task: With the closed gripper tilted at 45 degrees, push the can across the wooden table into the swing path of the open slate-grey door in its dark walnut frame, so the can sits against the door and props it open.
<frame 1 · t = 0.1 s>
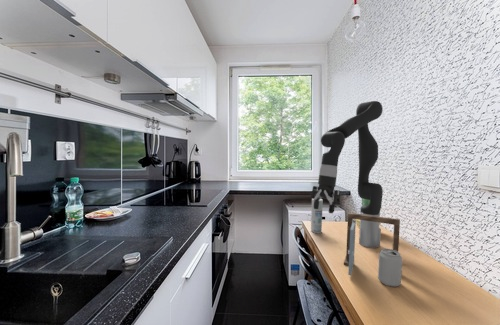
hand: (323, 210, 105), 22 cm above the table, tool pointing down, fingers open, 8 cm apart
door frame: (352, 262, 104), on the table
can: (389, 282, 89), on the table
door: (352, 246, 97), point 10 cm above the table, hinge at 90.0°
spray can: (316, 231, 144), on the table
potted cactus: (366, 232, 145), on the table
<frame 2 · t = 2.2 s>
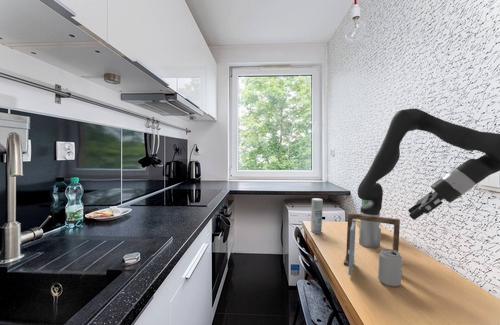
hand: (410, 215, 84), 27 cm above the table, tool tilted 45°, fingers open, 8 cm apart
nothing on the table moved.
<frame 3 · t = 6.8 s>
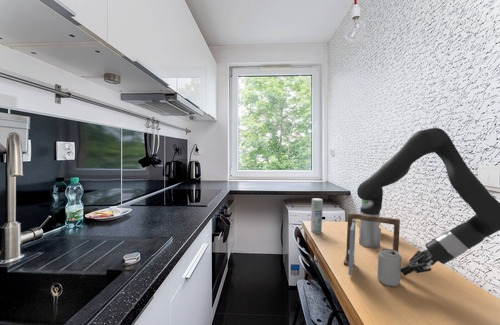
hand: (402, 272, 86), 5 cm above the table, tool tilted 45°, fingers closed
can: (388, 282, 89), on the table, touching gripper
everything else where it was.
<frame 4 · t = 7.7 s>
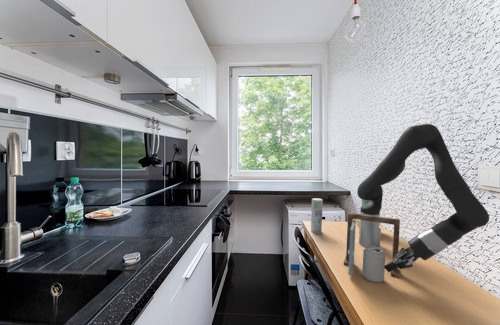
hand: (386, 269, 89), 5 cm above the table, tool tilted 45°, fingers closed
can: (373, 278, 91), on the table, touching gripper
everything else where it was.
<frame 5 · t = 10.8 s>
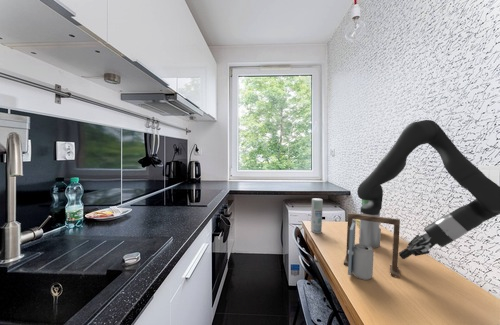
hand: (400, 256, 87), 11 cm above the table, tool tilted 45°, fingers closed
can: (361, 276, 93), on the table
door: (352, 246, 97), point 10 cm above the table, hinge at 90.6°
everything else where it was.
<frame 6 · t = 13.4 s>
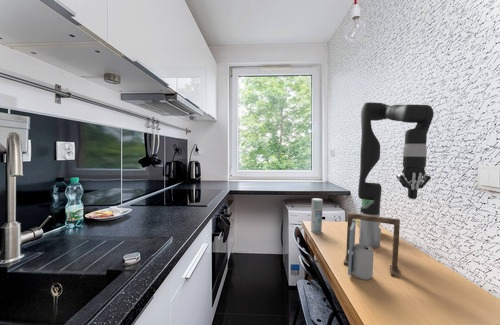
hand: (412, 198, 93), 31 cm above the table, tool pointing down, fingers closed
nothing on the table moved.
at the end: can 0.2 cm from the target spot, on the table; can tilted 0°; door at +91° (first picture: +90°) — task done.
